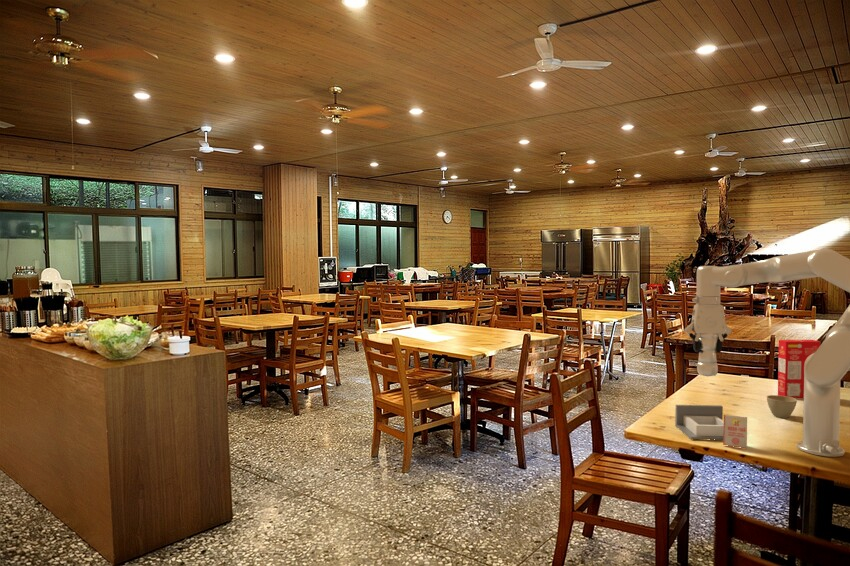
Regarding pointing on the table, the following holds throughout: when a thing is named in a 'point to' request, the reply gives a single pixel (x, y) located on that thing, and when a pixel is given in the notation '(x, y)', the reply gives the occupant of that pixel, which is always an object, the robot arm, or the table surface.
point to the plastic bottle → (707, 355)
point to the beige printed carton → (735, 431)
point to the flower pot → (781, 405)
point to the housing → (700, 421)
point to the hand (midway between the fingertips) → (707, 351)
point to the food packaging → (793, 366)
